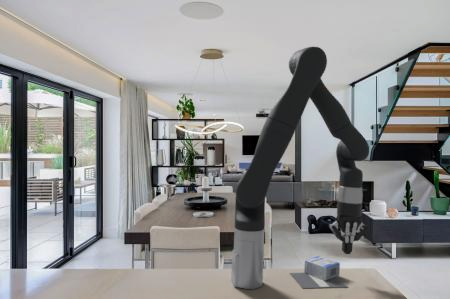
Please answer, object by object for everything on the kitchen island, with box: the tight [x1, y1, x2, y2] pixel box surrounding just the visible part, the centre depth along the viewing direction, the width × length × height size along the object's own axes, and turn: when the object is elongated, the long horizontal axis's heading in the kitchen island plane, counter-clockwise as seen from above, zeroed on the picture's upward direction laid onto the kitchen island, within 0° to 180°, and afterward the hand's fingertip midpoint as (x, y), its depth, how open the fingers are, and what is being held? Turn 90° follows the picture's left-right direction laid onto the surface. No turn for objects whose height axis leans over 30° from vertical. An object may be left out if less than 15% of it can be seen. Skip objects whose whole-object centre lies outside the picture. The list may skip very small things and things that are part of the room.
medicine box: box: [303, 255, 341, 281], centre depth 117 cm, size 8×4×9 cm
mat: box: [289, 272, 349, 290], centre depth 113 cm, size 14×12×1 cm
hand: (346, 253), depth 114 cm, fingers closed
